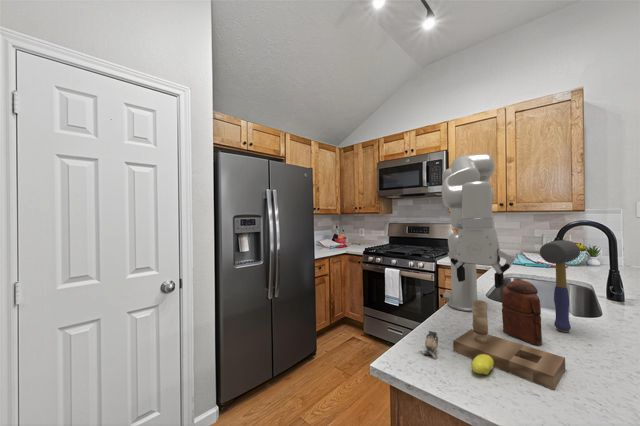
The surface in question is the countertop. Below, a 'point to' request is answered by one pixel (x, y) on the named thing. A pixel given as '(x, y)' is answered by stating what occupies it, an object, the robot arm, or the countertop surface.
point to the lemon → (482, 364)
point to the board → (514, 358)
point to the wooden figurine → (522, 311)
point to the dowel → (480, 320)
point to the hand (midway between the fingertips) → (479, 284)
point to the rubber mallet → (560, 277)
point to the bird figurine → (431, 344)
